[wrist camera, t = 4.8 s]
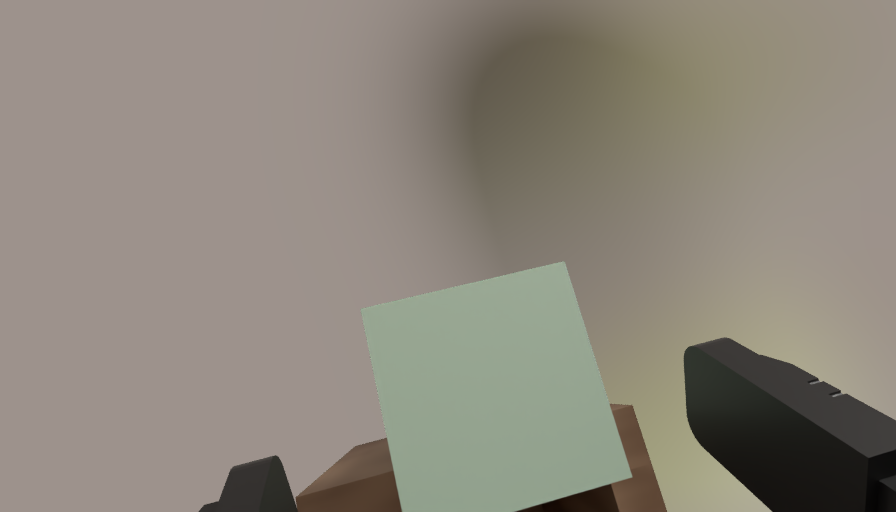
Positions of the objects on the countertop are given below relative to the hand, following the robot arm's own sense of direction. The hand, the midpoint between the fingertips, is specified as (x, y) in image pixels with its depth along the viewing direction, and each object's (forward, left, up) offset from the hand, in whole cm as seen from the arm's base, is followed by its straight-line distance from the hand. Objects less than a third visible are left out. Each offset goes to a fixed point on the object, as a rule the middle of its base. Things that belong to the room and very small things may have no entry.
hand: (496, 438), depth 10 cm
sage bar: (0, -10, -1) cm, 10 cm away
